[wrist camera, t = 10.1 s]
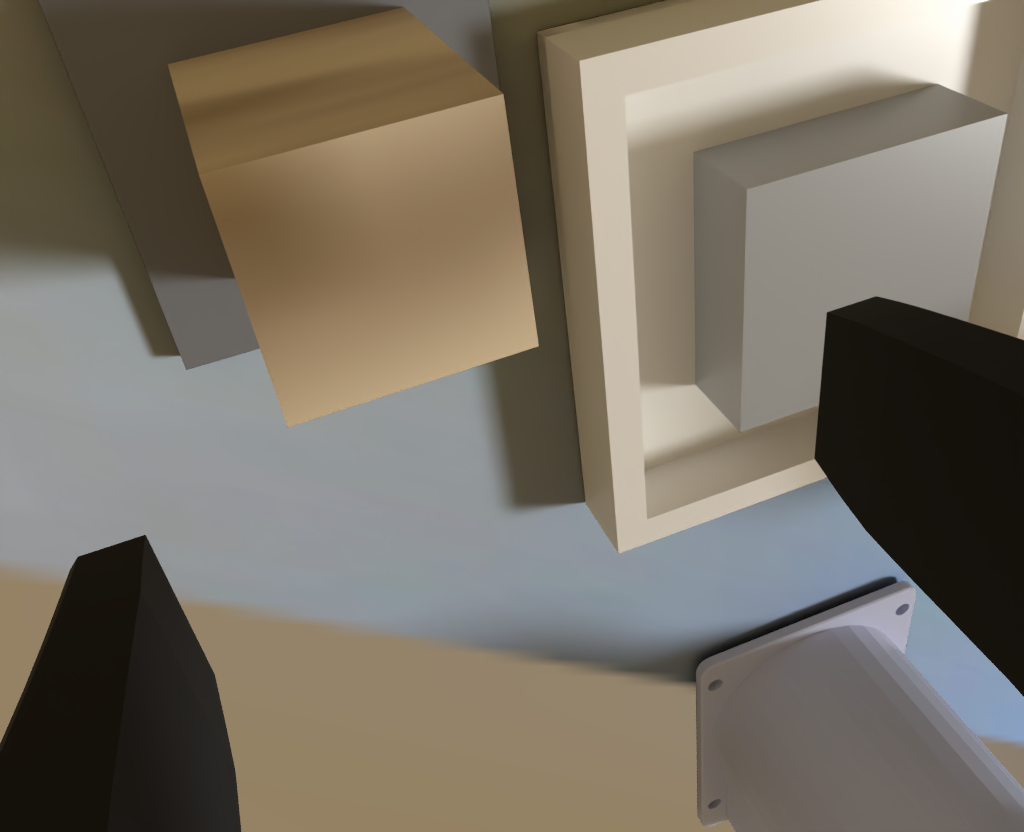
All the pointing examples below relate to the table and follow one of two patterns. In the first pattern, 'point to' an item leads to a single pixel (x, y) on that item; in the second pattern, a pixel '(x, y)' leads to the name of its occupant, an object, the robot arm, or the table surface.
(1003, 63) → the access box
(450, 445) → the table surface
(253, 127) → the maple block
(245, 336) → the rubber mat
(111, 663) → the robot arm
